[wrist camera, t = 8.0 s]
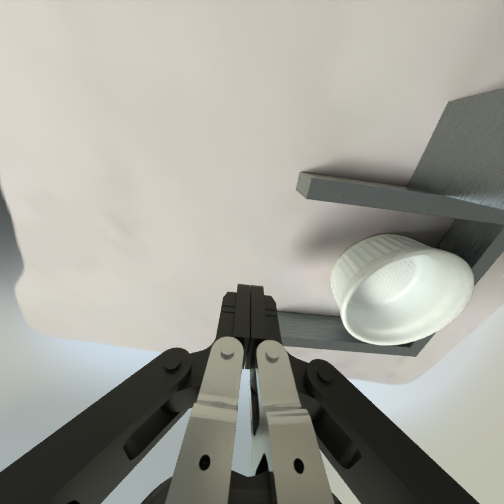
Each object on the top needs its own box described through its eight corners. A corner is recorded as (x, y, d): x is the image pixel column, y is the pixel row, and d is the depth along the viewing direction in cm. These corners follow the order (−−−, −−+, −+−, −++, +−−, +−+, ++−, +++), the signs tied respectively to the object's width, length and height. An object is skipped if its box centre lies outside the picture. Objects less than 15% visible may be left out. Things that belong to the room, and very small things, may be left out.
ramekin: (309, 300, 19) (324, 338, 15) (349, 216, 15) (381, 238, 11) (390, 314, 20) (423, 352, 16) (447, 238, 16) (508, 265, 12)
